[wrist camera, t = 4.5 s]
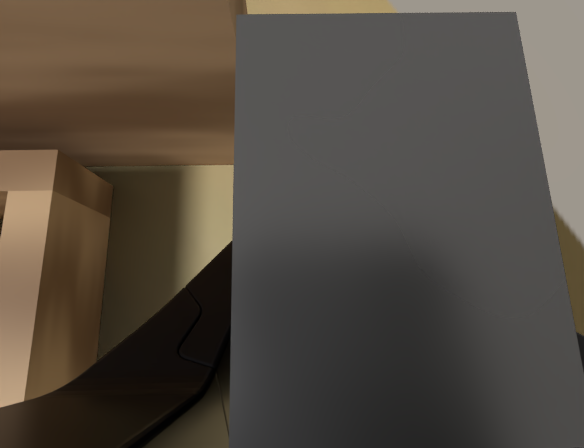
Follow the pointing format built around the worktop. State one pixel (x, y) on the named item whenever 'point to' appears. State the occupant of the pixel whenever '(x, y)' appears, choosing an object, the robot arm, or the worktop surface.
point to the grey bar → (395, 239)
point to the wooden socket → (92, 154)
